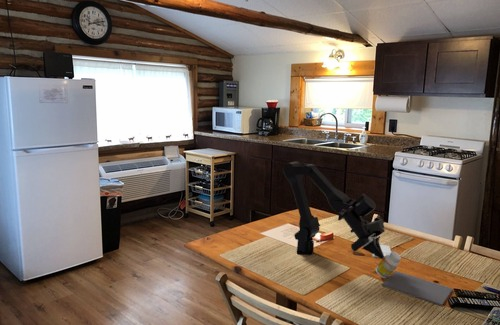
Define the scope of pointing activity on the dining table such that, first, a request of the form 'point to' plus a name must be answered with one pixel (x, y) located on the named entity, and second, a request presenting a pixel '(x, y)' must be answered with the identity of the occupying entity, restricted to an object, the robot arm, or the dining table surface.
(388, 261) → the supplement bottle
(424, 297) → the mat
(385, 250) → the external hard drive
